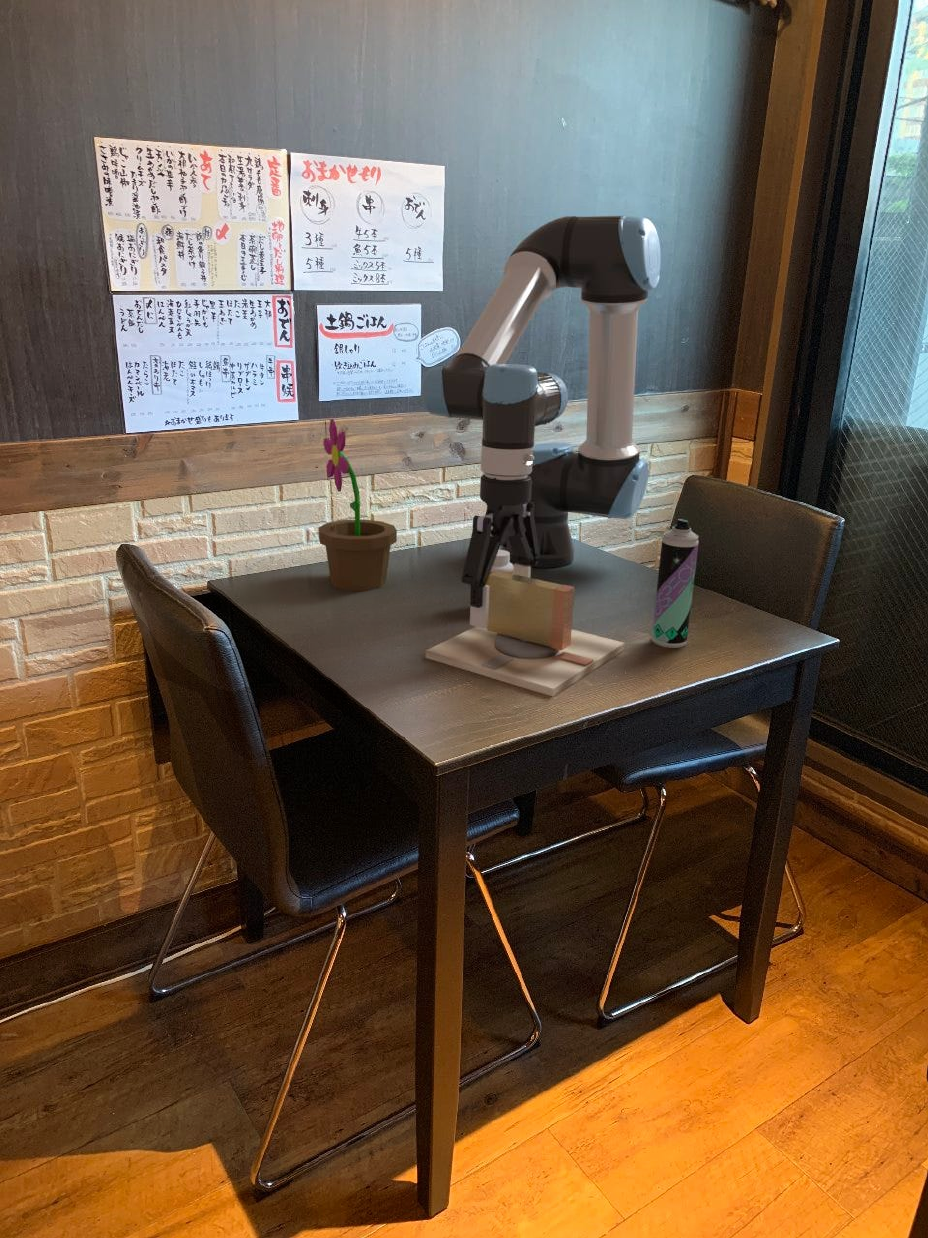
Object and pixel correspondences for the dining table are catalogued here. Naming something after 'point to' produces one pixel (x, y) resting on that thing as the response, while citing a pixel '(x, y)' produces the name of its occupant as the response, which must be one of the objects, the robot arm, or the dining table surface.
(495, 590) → the tan rectangular block
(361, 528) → the flowerpot
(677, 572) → the spray can
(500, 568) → the supplement bottle
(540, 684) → the board
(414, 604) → the dining table surface
